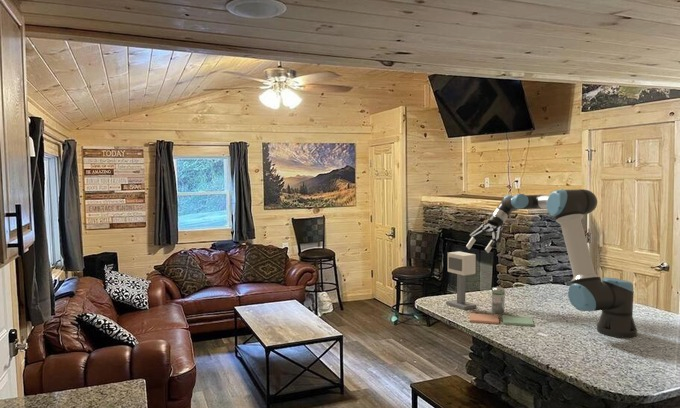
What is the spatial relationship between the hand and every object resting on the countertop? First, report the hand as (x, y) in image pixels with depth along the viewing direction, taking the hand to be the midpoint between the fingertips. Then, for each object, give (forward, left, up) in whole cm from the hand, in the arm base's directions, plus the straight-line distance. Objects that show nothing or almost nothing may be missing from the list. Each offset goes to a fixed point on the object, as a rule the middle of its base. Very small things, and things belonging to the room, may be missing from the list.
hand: (476, 249), depth 263 cm
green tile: (-30, -18, -29) cm, 45 cm away
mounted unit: (-8, +8, -29) cm, 31 cm away
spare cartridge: (-16, -10, -29) cm, 34 cm away
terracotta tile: (-30, -3, -29) cm, 41 cm away
